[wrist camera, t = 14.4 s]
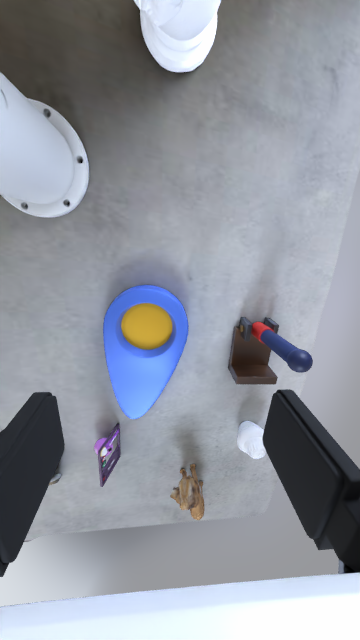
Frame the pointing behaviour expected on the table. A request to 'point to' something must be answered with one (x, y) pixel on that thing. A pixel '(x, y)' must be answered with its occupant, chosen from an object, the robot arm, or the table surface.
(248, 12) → the table surface
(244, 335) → the brown lever base
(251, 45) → the table surface
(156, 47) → the cherub figurine
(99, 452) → the purple toy package
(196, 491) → the lion figurine
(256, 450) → the muffin
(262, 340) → the blue lever handle
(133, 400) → the location marker
